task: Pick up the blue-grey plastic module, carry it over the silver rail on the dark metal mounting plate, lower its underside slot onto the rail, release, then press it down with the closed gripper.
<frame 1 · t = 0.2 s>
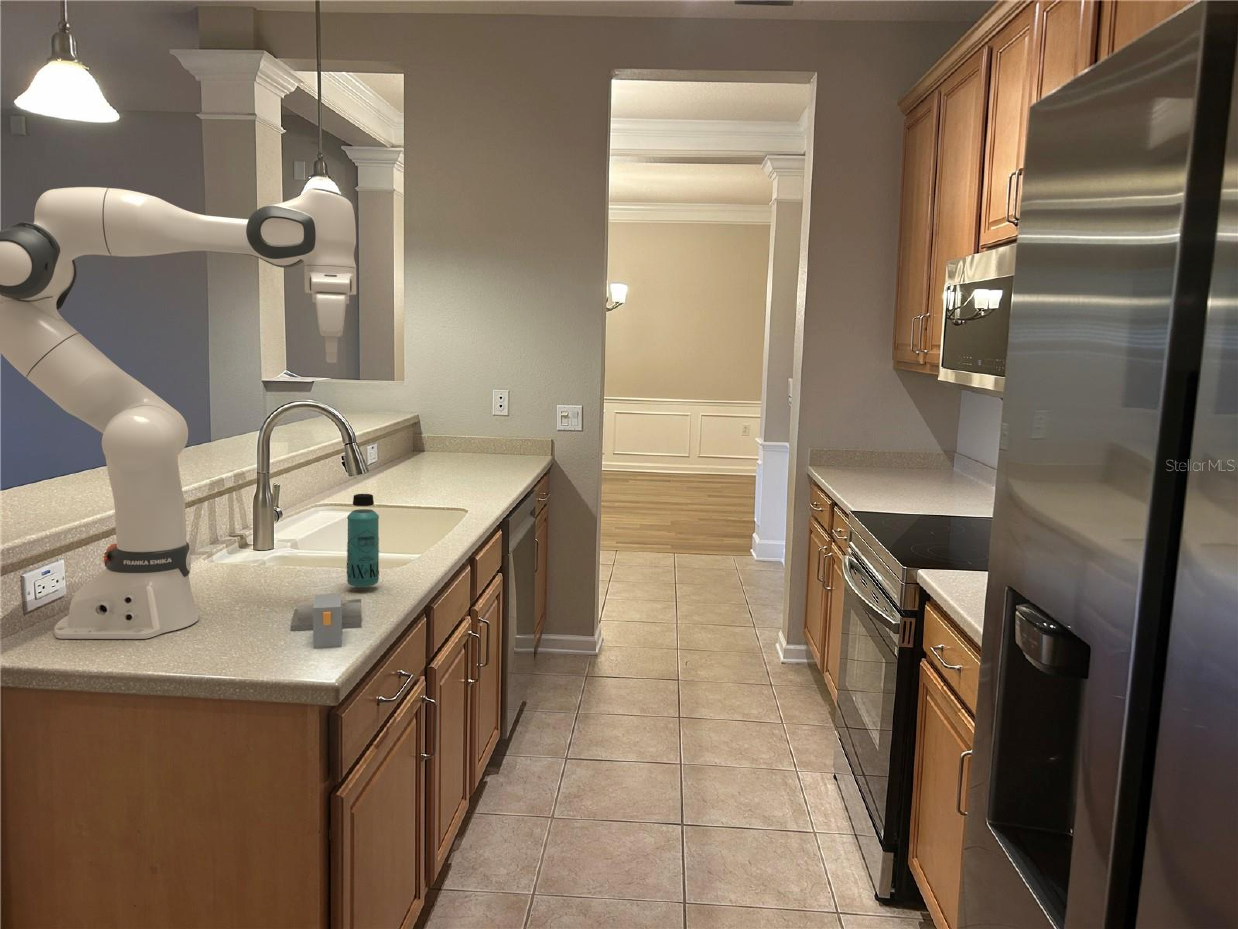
hand: (331, 361, 165), 47 cm above the worktop, fingers open, 8 cm apart
din rail: (330, 620, 168), on the worktop
module: (328, 640, 157), on the worktop
beverage bottle: (363, 590, 189), on the worktop
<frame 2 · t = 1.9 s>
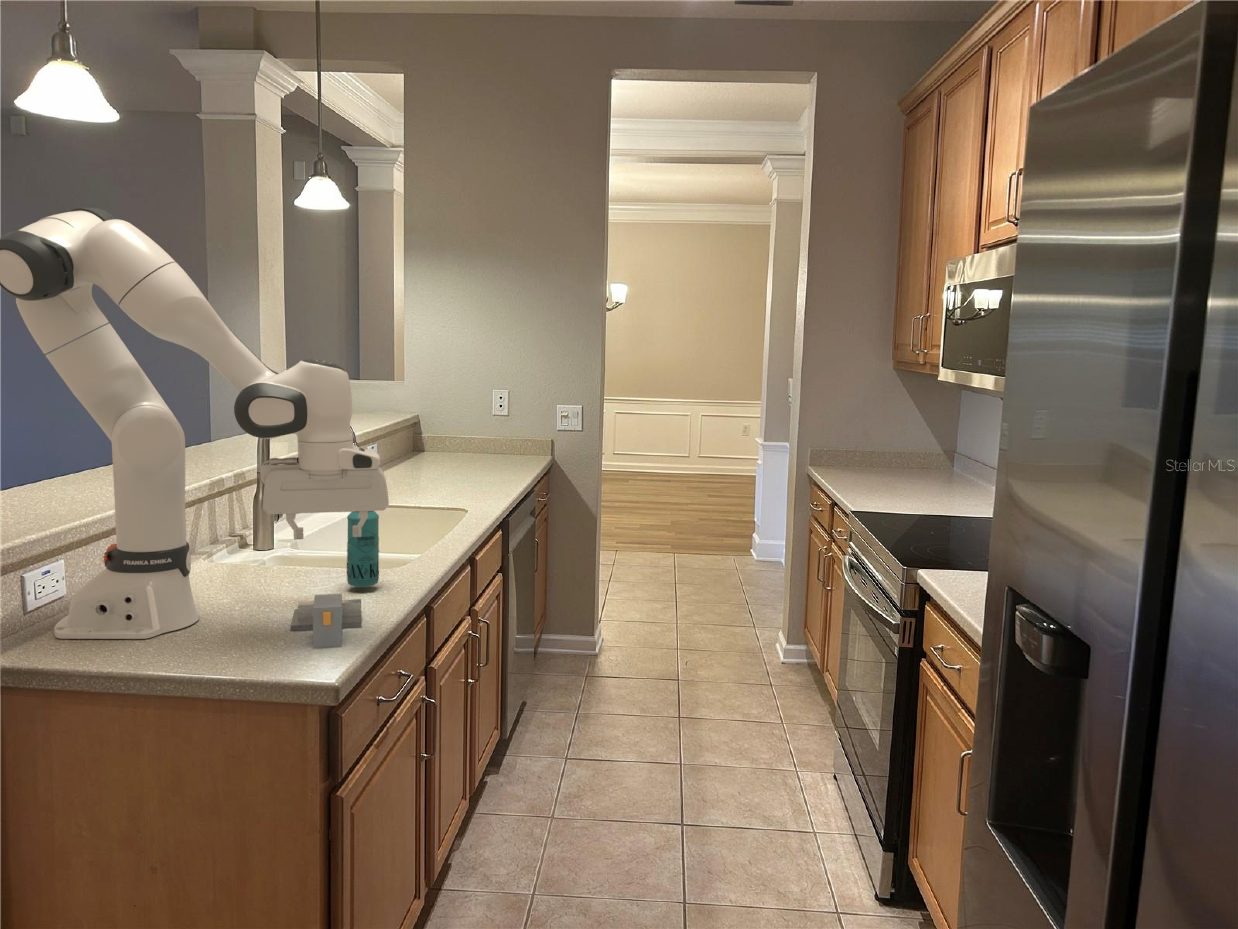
hand: (328, 537, 155), 18 cm above the worktop, fingers open, 8 cm apart
nothing on the worktop moved.
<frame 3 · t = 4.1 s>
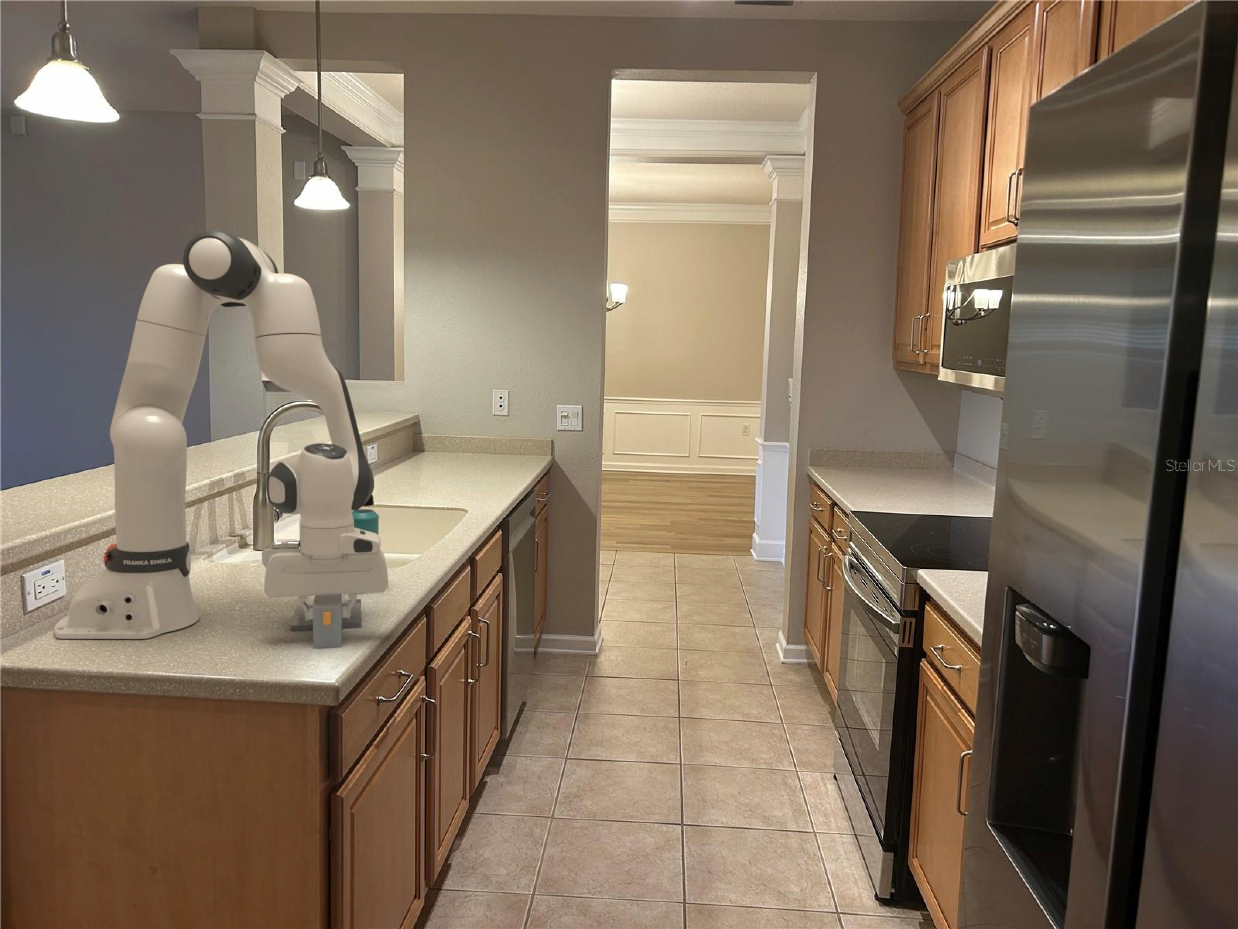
hand: (328, 619, 157), 4 cm above the worktop, fingers closed on module, 4 cm apart
module: (328, 640, 157), on the worktop, touching gripper
everything else where it was.
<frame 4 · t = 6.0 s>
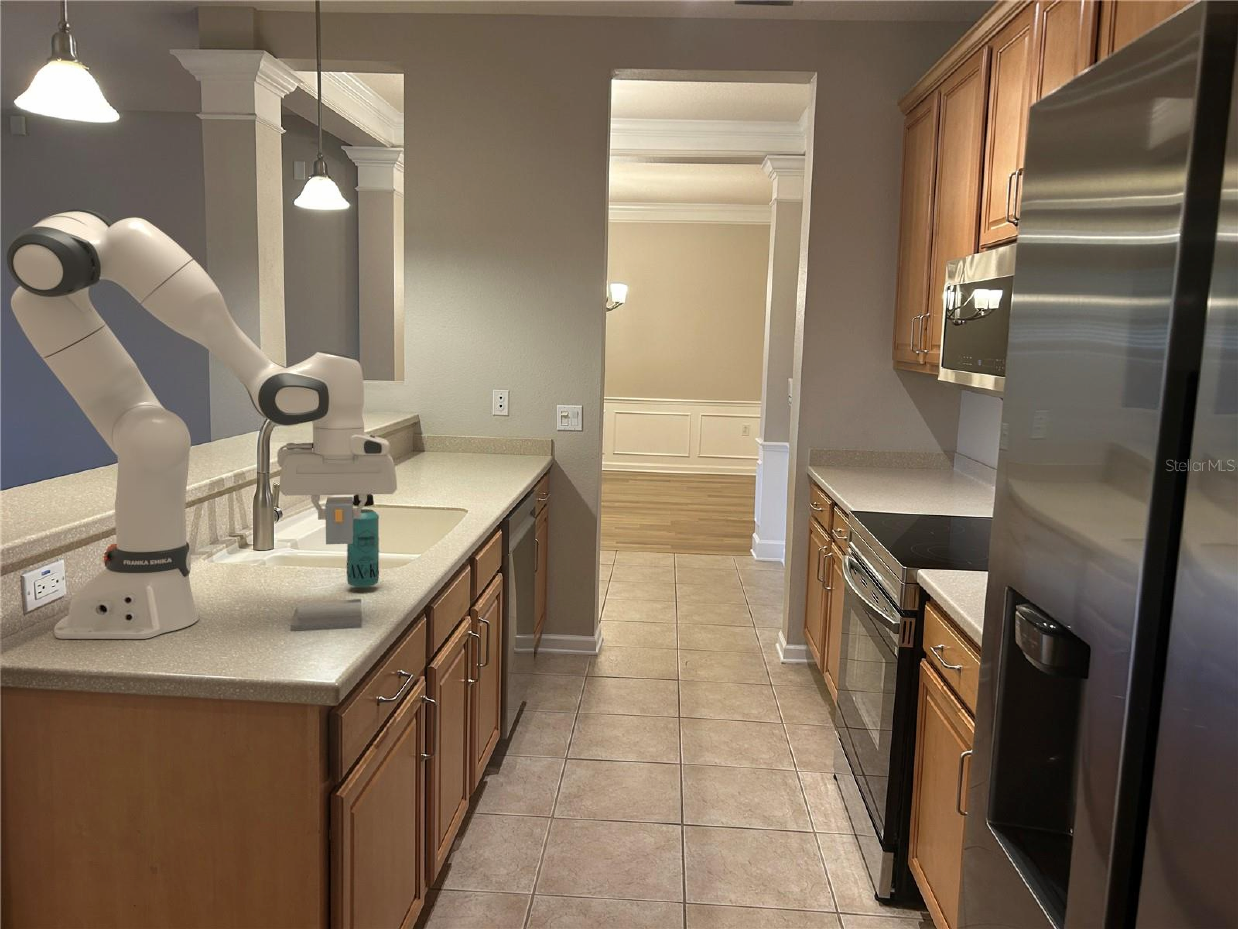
hand: (339, 518, 165), 19 cm above the worktop, fingers closed on module, 4 cm apart
module: (340, 538, 166), point 15 cm above the worktop, touching gripper
everything else where it was.
when the fingers open (5 cm above the worktop, at t = 8.4 s): module stays where it is, resting on din rail.
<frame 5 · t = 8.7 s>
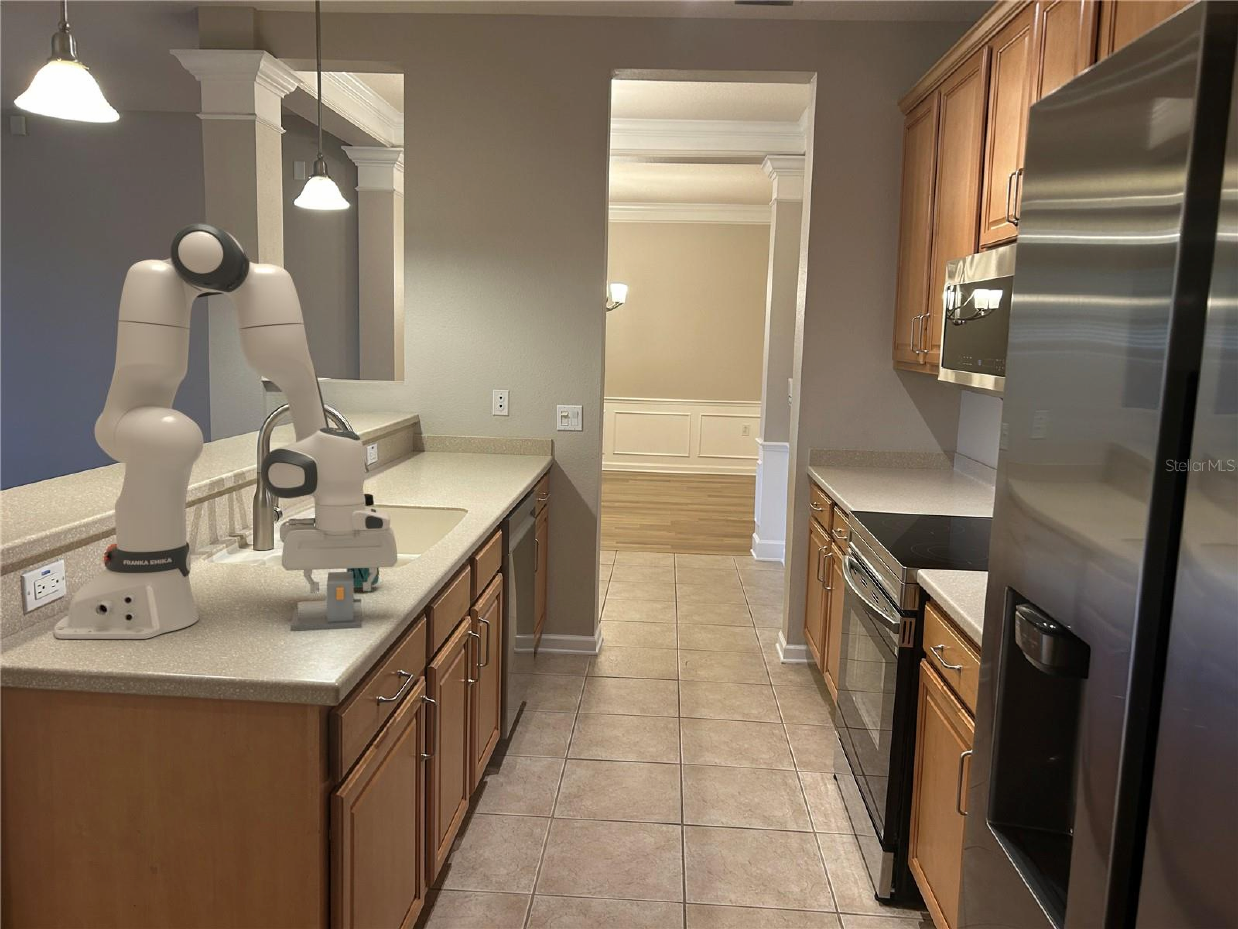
hand: (341, 591, 168), 5 cm above the worktop, fingers open, 8 cm apart
module: (340, 614, 168), point 1 cm above the worktop, touching din rail
everything else where it was.
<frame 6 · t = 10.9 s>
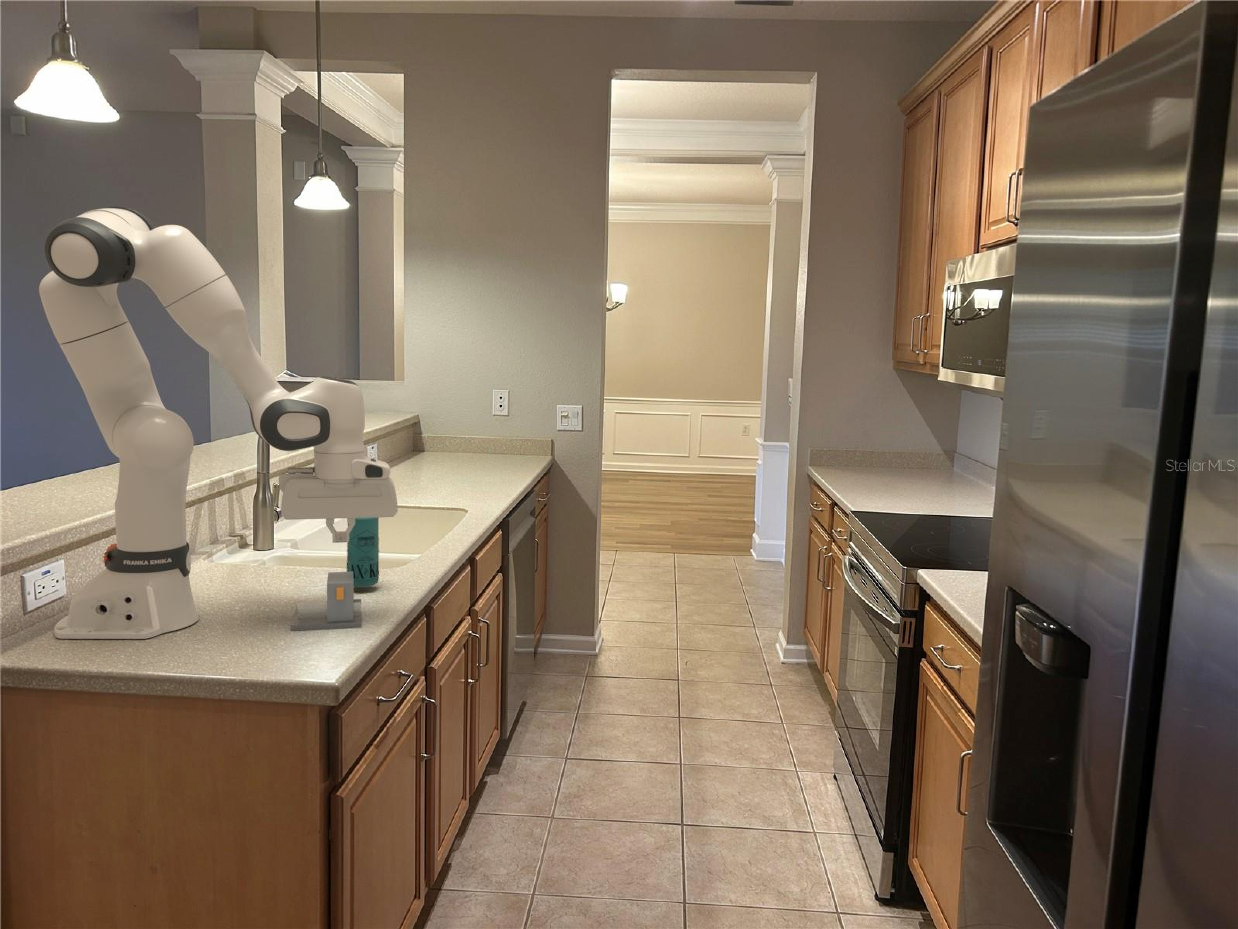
hand: (341, 542, 166), 15 cm above the worktop, fingers closed
nothing on the worktop moved.
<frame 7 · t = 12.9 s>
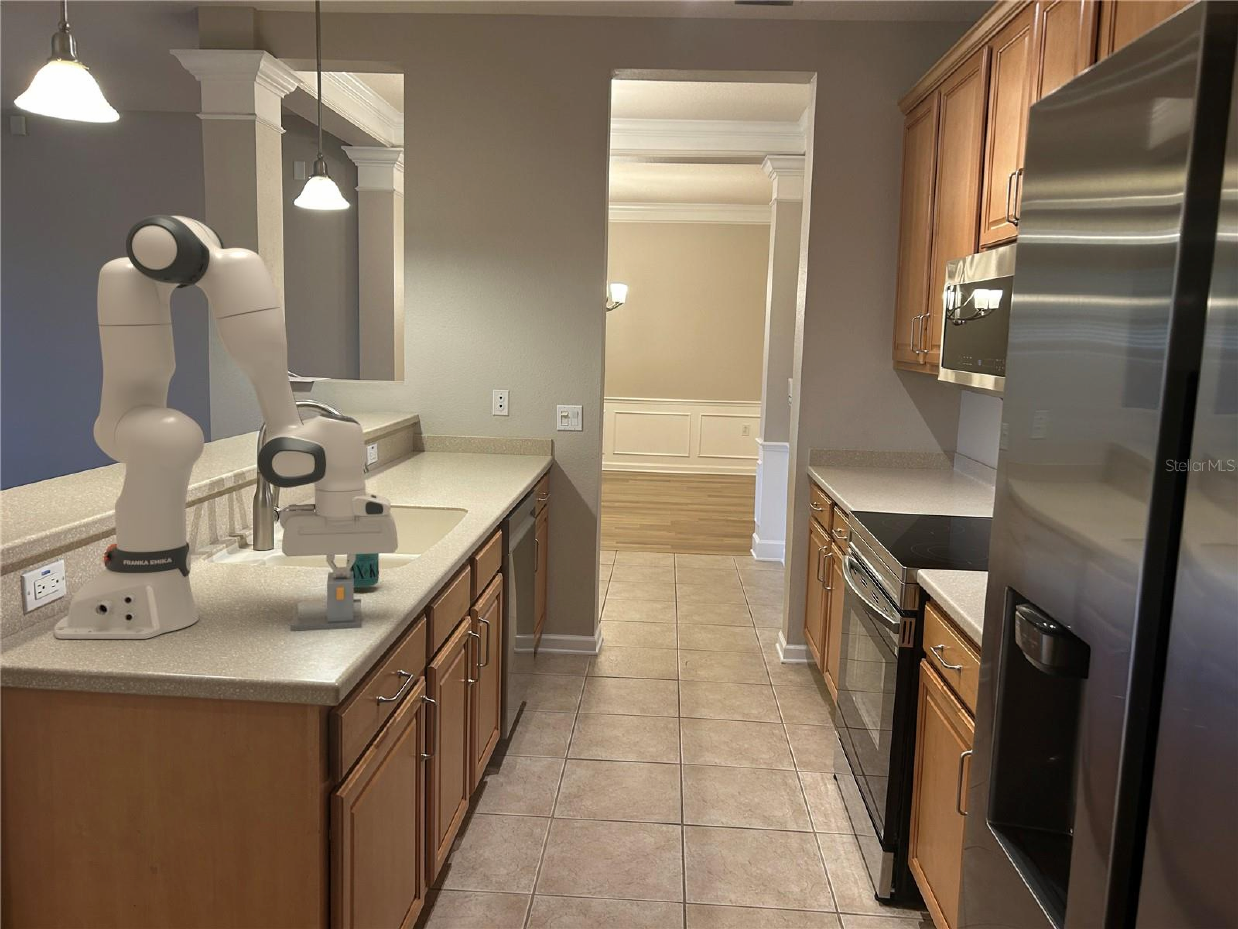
hand: (341, 577, 167), 8 cm above the worktop, fingers closed, pressing on module
module: (340, 614, 168), point 1 cm above the worktop, touching din rail, gripper
everything else where it was.
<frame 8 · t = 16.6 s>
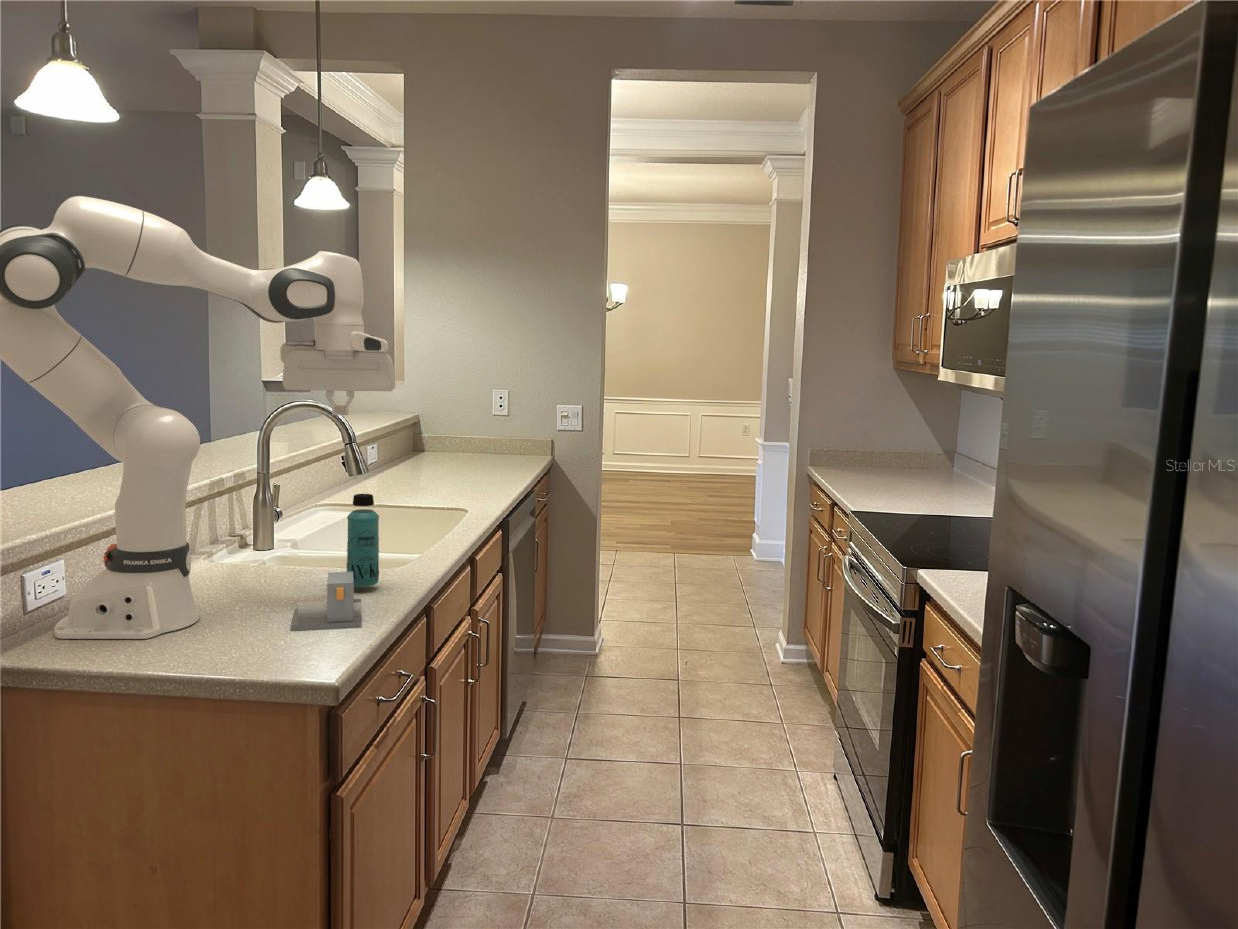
hand: (340, 415, 172), 37 cm above the worktop, fingers closed
module: (340, 614, 168), point 1 cm above the worktop, touching din rail
everything else where it was.
at the end: module 1.2 cm off-centre on the din rail, point 1.0 cm above the din rail's base; module tilted 0°; the gripper is holding nothing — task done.
